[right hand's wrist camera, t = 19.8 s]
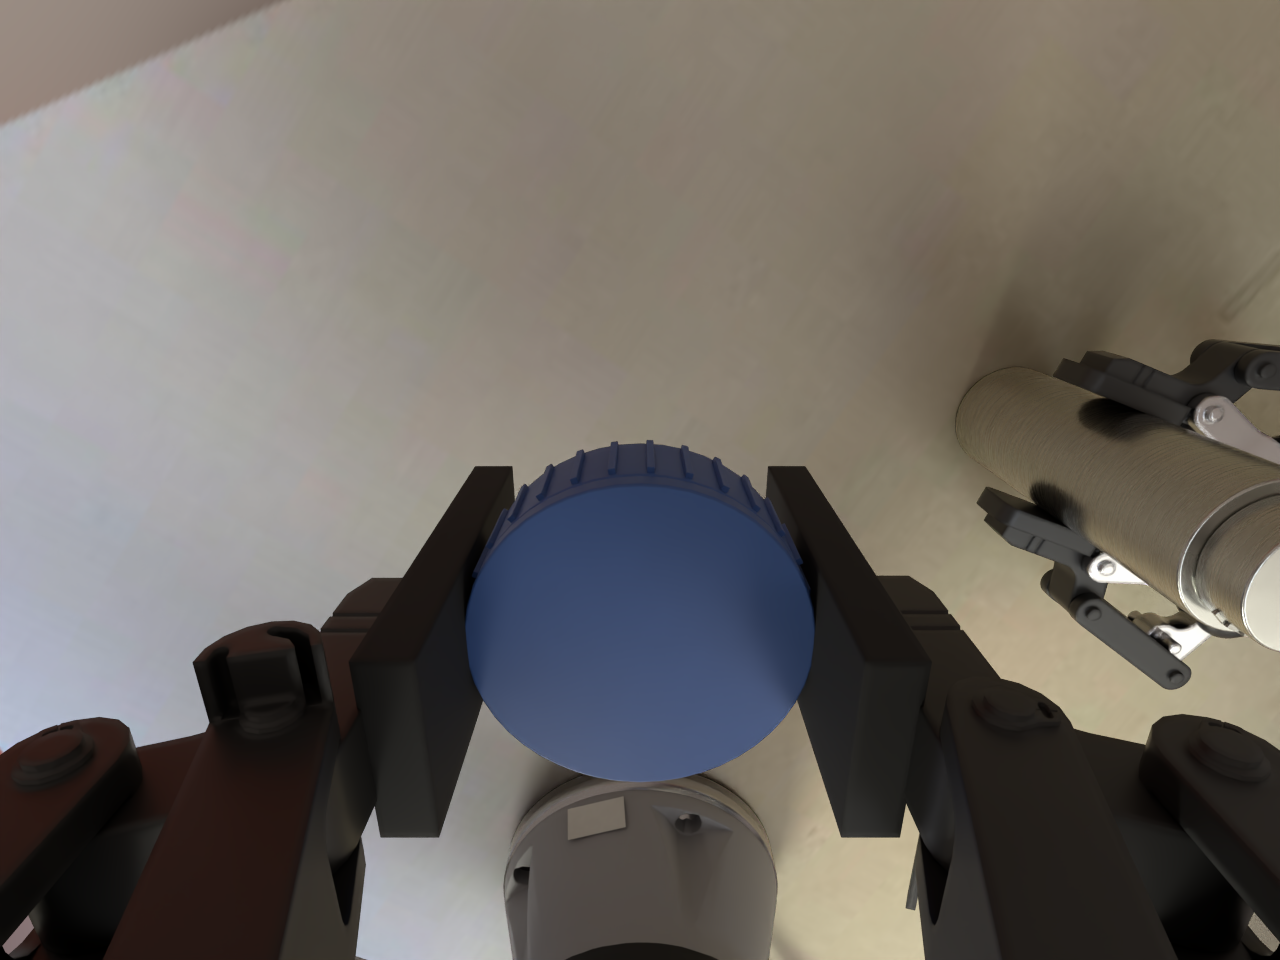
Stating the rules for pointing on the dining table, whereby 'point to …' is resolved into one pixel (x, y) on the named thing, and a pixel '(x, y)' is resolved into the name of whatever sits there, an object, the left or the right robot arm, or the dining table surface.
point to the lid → (640, 615)
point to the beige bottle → (1139, 493)
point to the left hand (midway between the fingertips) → (1030, 441)
